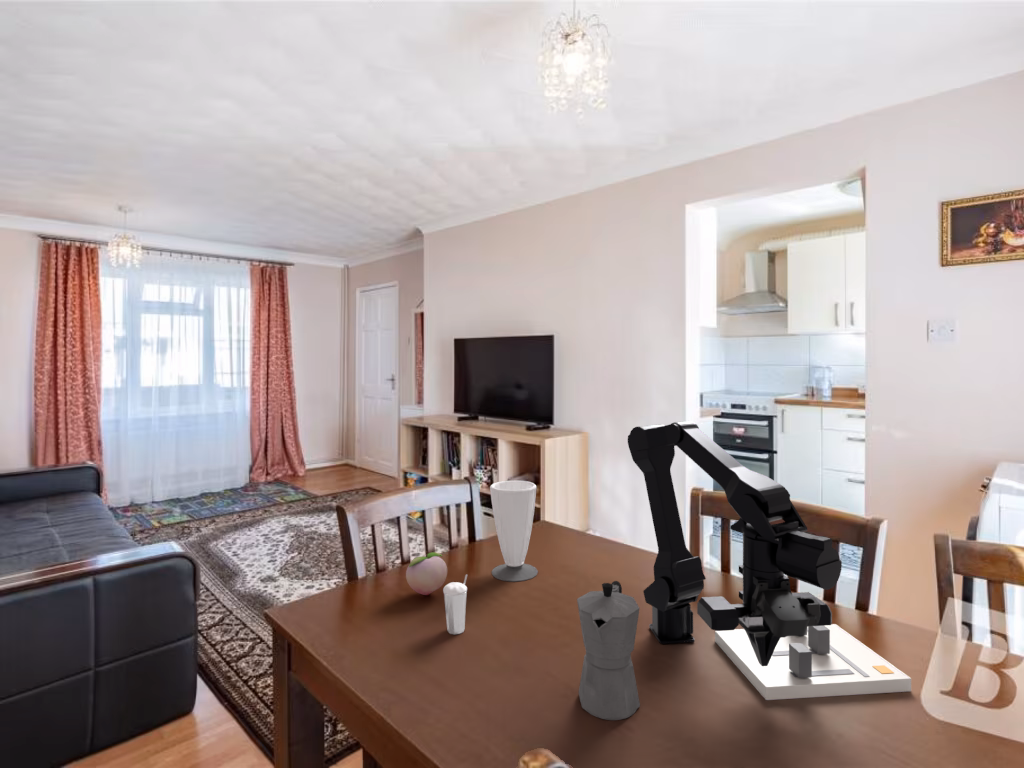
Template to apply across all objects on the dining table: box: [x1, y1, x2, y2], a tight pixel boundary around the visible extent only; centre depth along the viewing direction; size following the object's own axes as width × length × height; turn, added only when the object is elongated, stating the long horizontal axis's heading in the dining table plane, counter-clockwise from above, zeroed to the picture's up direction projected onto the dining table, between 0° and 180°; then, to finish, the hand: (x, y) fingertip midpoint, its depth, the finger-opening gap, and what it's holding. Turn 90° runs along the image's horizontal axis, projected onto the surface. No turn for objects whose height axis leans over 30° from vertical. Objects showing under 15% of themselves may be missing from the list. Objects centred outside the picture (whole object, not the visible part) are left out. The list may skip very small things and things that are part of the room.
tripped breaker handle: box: [789, 643, 812, 678], centre depth 82 cm, size 2×3×4 cm
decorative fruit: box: [405, 550, 448, 596], centre depth 117 cm, size 9×8×10 cm
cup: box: [489, 479, 539, 583], centre depth 129 cm, size 12×12×22 cm
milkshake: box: [442, 574, 468, 635], centre depth 102 cm, size 4×5×10 cm
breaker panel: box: [714, 623, 912, 701], centre depth 88 cm, size 23×17×2 cm
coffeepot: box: [576, 580, 641, 721], centre depth 80 cm, size 15×9×18 cm, turn 159°
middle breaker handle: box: [808, 626, 830, 654], centre depth 88 cm, size 2×3×4 cm
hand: (763, 664), depth 82 cm, fingers closed
